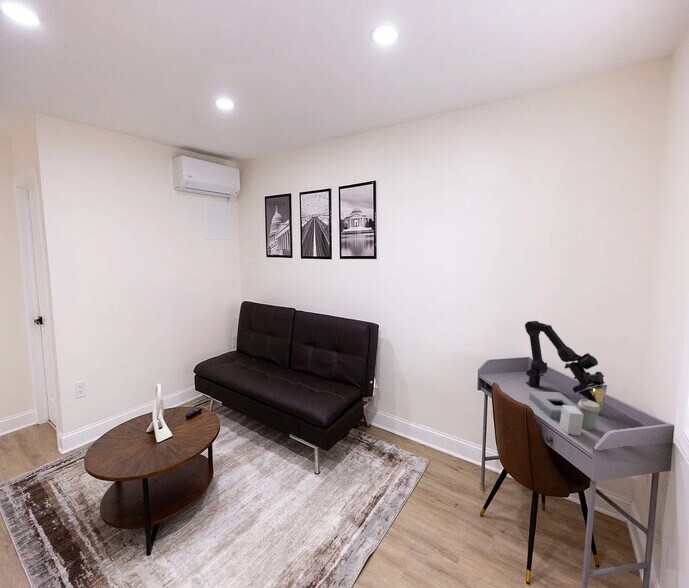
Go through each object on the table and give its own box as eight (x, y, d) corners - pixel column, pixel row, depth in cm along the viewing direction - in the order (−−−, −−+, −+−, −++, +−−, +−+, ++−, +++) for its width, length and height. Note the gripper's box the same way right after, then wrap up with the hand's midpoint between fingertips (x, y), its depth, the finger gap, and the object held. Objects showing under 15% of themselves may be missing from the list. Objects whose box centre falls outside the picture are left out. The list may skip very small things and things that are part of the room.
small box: (580, 436, 146) (584, 414, 144) (566, 434, 147) (570, 413, 145) (572, 426, 153) (575, 405, 152) (559, 424, 155) (562, 404, 153)
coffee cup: (587, 421, 158) (591, 398, 156) (601, 431, 150) (606, 407, 148) (570, 421, 158) (574, 398, 156) (583, 431, 149) (587, 407, 147)
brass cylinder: (586, 409, 170) (590, 386, 168) (595, 410, 170) (599, 386, 167) (592, 414, 165) (597, 390, 163) (602, 415, 165) (607, 391, 162)
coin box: (529, 398, 180) (530, 391, 179) (558, 399, 179) (559, 392, 179) (550, 418, 160) (551, 409, 159) (583, 419, 160) (584, 411, 159)
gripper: (582, 369, 163) (603, 399, 155) (603, 364, 171) (624, 393, 163) (564, 377, 171) (583, 407, 163) (584, 372, 179) (604, 400, 171)
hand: (599, 401), depth 165 cm, fingers open, 7 cm apart
